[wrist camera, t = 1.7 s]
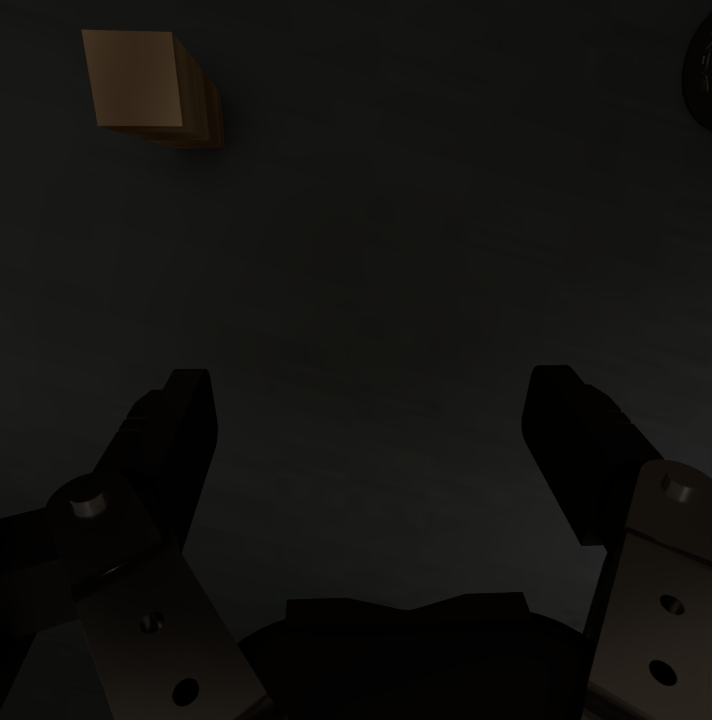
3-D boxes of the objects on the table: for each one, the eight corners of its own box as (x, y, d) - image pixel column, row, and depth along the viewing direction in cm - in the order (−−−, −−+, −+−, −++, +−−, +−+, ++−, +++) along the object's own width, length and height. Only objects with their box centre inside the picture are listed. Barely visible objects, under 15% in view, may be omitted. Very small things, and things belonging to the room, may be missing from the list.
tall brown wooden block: (220, 92, 33) (171, 32, 20) (225, 148, 34) (182, 126, 21) (166, 91, 33) (81, 29, 20) (173, 148, 34) (97, 125, 21)
